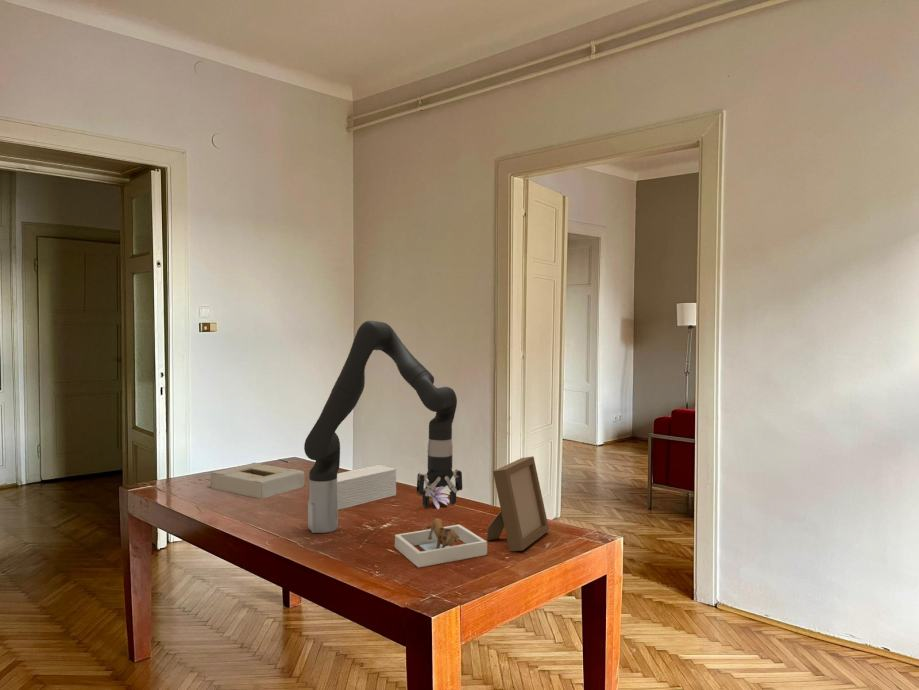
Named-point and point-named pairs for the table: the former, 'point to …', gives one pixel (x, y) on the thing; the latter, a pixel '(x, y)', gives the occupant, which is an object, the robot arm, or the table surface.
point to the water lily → (438, 496)
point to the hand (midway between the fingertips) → (439, 506)
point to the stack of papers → (365, 485)
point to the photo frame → (519, 505)
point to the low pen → (436, 556)
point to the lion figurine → (442, 534)
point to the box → (257, 480)
